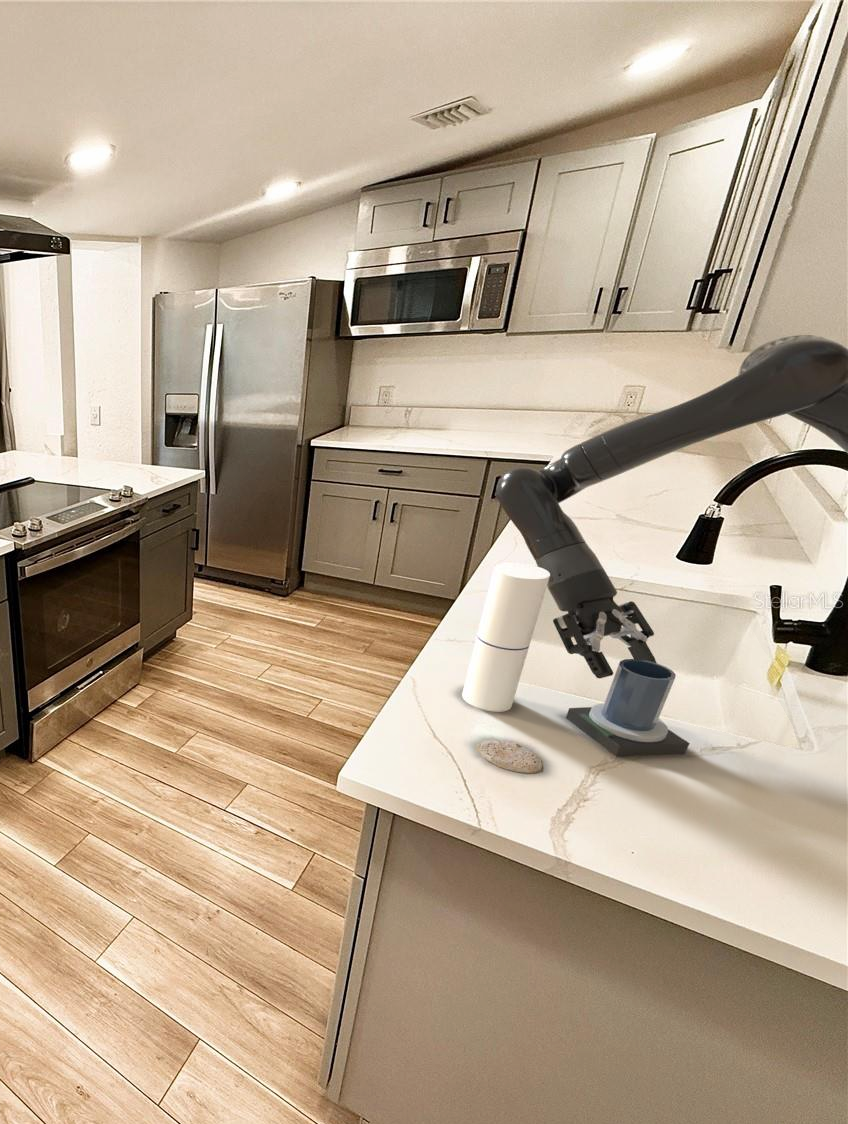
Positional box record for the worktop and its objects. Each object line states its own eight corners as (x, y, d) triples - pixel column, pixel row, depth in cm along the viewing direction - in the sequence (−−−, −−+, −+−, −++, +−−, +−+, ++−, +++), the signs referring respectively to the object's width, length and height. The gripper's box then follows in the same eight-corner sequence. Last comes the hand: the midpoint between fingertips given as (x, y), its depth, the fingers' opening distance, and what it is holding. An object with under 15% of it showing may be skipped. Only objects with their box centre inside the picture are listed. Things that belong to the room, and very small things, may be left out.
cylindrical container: (455, 703, 107) (488, 571, 97) (469, 687, 111) (501, 559, 101) (503, 719, 102) (543, 582, 92) (516, 702, 106) (555, 569, 96)
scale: (626, 718, 101) (634, 700, 99) (683, 757, 91) (692, 737, 90) (564, 721, 101) (570, 702, 100) (614, 760, 92) (622, 740, 90)
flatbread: (539, 752, 94) (541, 747, 94) (543, 782, 88) (545, 776, 88) (476, 737, 98) (477, 732, 98) (476, 764, 93) (477, 759, 92)
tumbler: (631, 706, 98) (650, 657, 94) (666, 730, 92) (687, 679, 88) (591, 708, 98) (608, 659, 94) (623, 731, 92) (643, 681, 89)
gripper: (560, 573, 94) (615, 674, 89) (631, 561, 97) (689, 657, 92) (519, 592, 101) (568, 686, 96) (587, 580, 104) (638, 670, 99)
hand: (627, 672), depth 94 cm, fingers open, 8 cm apart
